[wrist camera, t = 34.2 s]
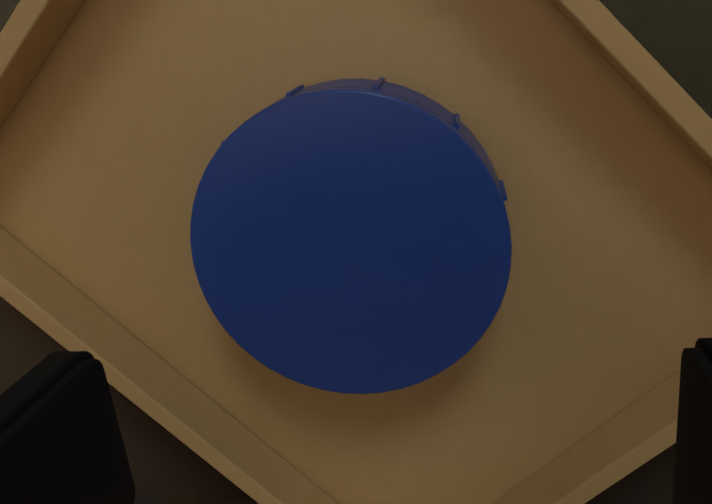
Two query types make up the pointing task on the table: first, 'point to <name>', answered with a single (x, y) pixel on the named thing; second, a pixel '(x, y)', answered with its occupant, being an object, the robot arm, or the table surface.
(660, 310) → the tray
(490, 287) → the lid
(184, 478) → the table surface
